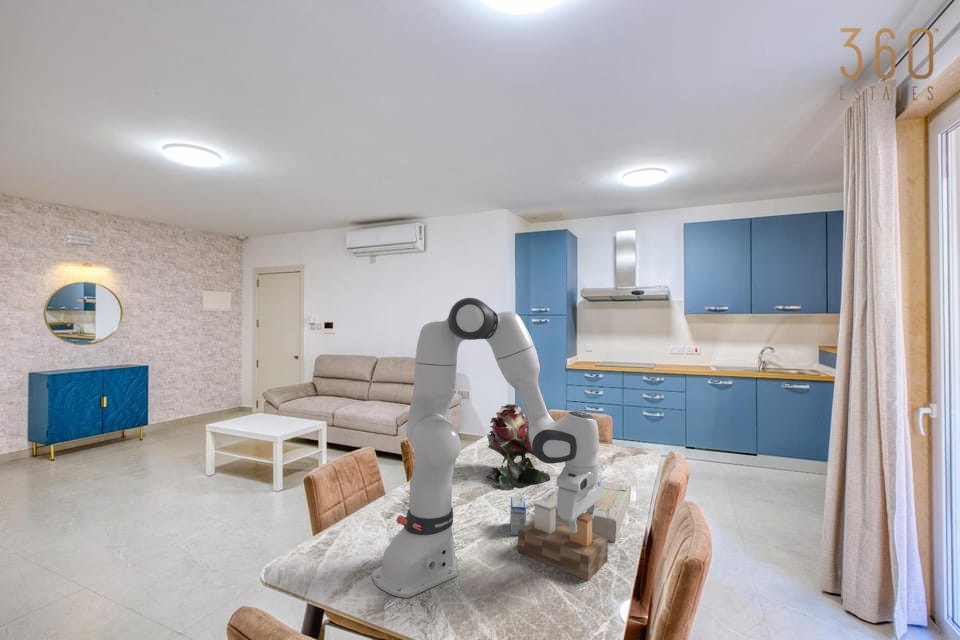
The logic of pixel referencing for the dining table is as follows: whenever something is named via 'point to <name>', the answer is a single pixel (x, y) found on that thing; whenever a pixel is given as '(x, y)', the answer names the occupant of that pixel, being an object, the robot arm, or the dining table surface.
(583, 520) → the orange plug
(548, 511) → the cream plug
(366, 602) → the dining table surface
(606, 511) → the pale hollow square block
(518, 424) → the rose bouquet
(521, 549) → the block
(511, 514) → the medicine box
